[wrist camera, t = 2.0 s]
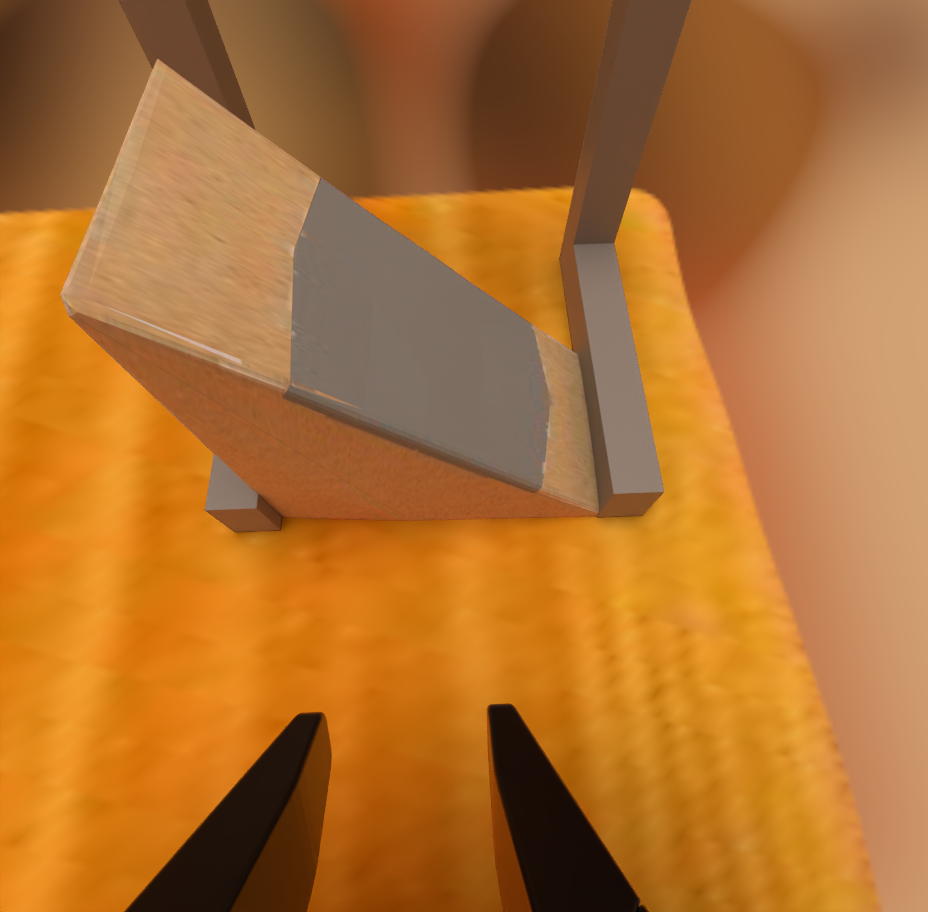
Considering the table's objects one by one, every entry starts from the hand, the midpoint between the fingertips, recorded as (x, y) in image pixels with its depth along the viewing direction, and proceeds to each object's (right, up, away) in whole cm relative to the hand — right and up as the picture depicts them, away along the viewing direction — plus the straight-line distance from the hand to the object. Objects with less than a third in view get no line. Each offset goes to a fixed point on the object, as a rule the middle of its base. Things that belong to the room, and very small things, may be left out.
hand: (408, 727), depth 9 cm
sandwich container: (0, +5, +18) cm, 19 cm away
